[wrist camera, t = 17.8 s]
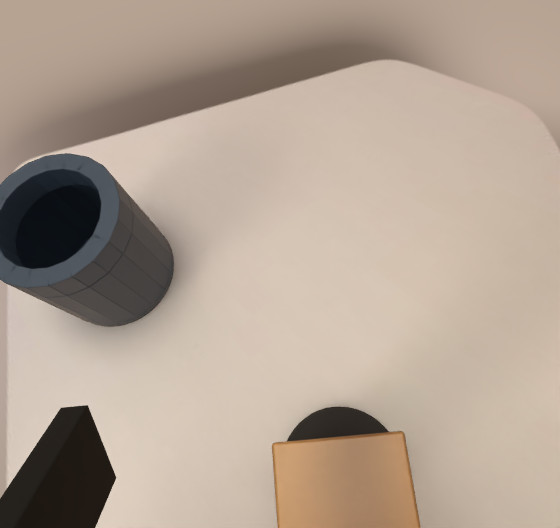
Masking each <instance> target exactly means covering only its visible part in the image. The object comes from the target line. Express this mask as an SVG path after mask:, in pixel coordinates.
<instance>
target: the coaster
mask: <svg viewBox="0 0 560 528" xmlns="http://www.w3.org/2000/svg"><path fill="white" fill-rule="evenodd" d="M386 432H388V431H387V429H386V428H385V427H384V426H383V425H382V424H381V423H380V422H378V421H377V420H376V419H375V418H373V417H372V416H370V415H368V414H366V413H364V412H362V411H359V410H357V409H353V408H349V407H330V408H325V409H322V410H319V411H317V412H315V413H313V414H311V415H309V416H308V417H306V418H305V419H304V420H303V421H301V422H300V423H299V424H298V425H297V427H296V428H295V429H294V430H293V432H292V433H291V435H290V436H289V438H288V440H287V442H288V441H299V440H310V439H321V438H332V437H343V436H354V435H365V434H375V433H386Z"/></svg>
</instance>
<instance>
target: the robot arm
mask: <svg viewBox="0 0 560 528" xmlns="http://www.w3.org/2000/svg"><path fill="white" fill-rule="evenodd" d="M115 479H116V476H115V473H114V471H113V468H112V466H111V463H110V461H109V458H108V456H107V453H106V451H105V448H104V446H103V443H102V441H101V438H100V435H99V433H98V430H97V428H96V425H95V423H94V420H93V418H92V415H91V413H90V410H89V408H88V405H86V406H76V407H66V408H61V409H60V410H59V412H58V413H57V415H56V416H55V418H54V419H53V421H52V422H51V424H50V425H49V427H48V428H47V430H46V431H45V433H44V434H43V436H42V437H41V439H40V440H39V442H38V443H37V445H36V446H35V448H34V449H33V451H32V452H31V454H30V455H29V457H28V458H27V460H26V461H25V463H24V464H23V466H22V467H21V469H20V470H19V472H18V473H17V475H16V476H15V478H14V479H13V481H12V482H11V484H10V485H9V487H8V488H7V490H6V491H5V493H4V494H3V496H2V497H1V499H0V528H95V527H96V524H97V522H98V519H99V517H100V515H101V512H102V510H103V508H104V505H105V503H106V501H107V498H108V496H109V493H110V491H111V489H112V486H113V484H114V482H115Z"/></svg>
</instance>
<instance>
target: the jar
mask: <svg viewBox="0 0 560 528" xmlns="http://www.w3.org/2000/svg"><path fill="white" fill-rule="evenodd" d="M173 266H174V262H173V255H172V250H171V248H170V245H169V243H168V242H167V240H166V239H165V237H164V236H163V235H162V234H161V232H160V231H159V230H158V229H157V227H156V226H155V225H154V224H153V223H152V222H151V220H150V219H149V218H148V217H147V216H146V215H145V213H144V212H143V211H142V210H141V209H140V208H139V206H138V205H137V204H136V203H135V202H134V201H133V199H132V198H131V197H130V196H129V195H128V194H127V192H126V191H125V190H124V189H123V188H122V187H121V185H120V184H119V183H118V182H117V181H116V180H115V178H114V177H113V176H112V175H111V174H110V173H109V171H108V170H107V169H106V168H105V167H104V166H103V165H101V164H100V163H98V162H96V161H94V160H93V159H91V158H89V157H86V156H80V155H75V154H67V153H66V154H57V155H49V156H45V157H42V158H40V159H37V160H34V161H32V162H29V163H27V164H25V165H24V166H22V167H21V168H20V169H18V170H17V171H15V172H14V173H12V174H11V175H9V176H8V177H7V178H6V179H5V180H4V181H3V182H2V183H1V185H0V280H2V281H3V282H5V283H6V284H9V285H11V286H13V287H15V288H17V289H19V290H21V291H23V292H26V293H28V294H30V295H32V296H34V297H36V298H38V299H40V300H42V301H45V302H47V303H49V304H51V305H53V306H55V307H57V308H59V309H62V310H64V311H66V312H68V313H70V314H72V315H74V316H76V317H79V318H81V319H83V320H85V321H88V322H91V323H94V324H96V325H101V326H120V325H125V324H128V323H131V322H133V321H136V320H138V319H140V318H141V317H143V316H145V315H146V314H147V313H149V312H150V311H151V310H152V309H153V308H154V307H155V306H156V305H157V304H158V303H159V302H160V301H161V299H162V298H163V296H164V295H165V293H166V292H167V289H168V287H169V285H170V282H171V279H172V275H173Z"/></svg>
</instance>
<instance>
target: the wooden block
mask: <svg viewBox="0 0 560 528" xmlns="http://www.w3.org/2000/svg"><path fill="white" fill-rule="evenodd" d="M272 454H273V468H274V481H275V495H276V509H277V523H278V528H421V527H420V521H419V515H418V510H417V504H416V498H415V492H414V487H413V481H412V475H411V469H410V463H409V458H408V452H407V446H406V440H405V435H404V433H403V432H402V431H397V432H386V433H375V434H365V435H354V436H343V437H332V438H321V439H310V440H299V441H288V442H277V443H273V444H272Z"/></svg>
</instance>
